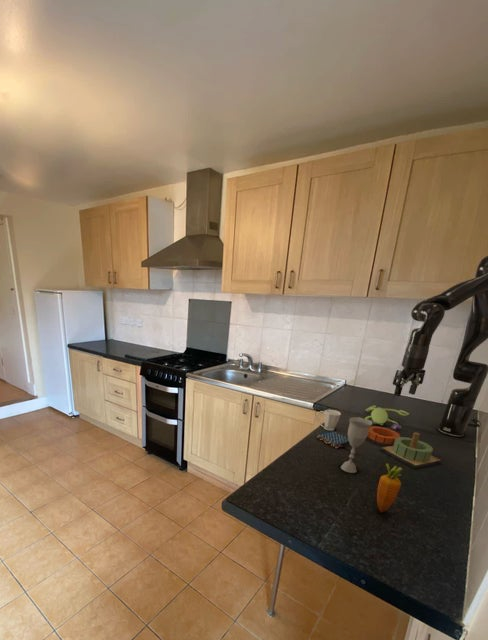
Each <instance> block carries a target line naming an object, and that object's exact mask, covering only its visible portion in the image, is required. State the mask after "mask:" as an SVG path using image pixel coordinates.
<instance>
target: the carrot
mask: <svg viewBox="0 0 488 640" xmlns="http://www.w3.org/2000/svg"><path fill="white" fill-rule="evenodd" d="M385 466H386V470H387V474H383V475H381V476H380V477H379V482H378V485H377V490H376V503H377V508H378V511H379V512H380V514H381V513H385V512H386V511H388V509H389V508H390V507H391V506H392V505H393V504H394V502H395V500H396V499H397V497H398V495H399V493H400V489H401V486H402V483H401V480H400V479H399V477H401V476H402V474H401V472H402V471H403V468H402V467H400V466H399V467H398V466H397V465H394V466H393V467H392V468H390V464H389V463H385Z"/></svg>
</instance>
